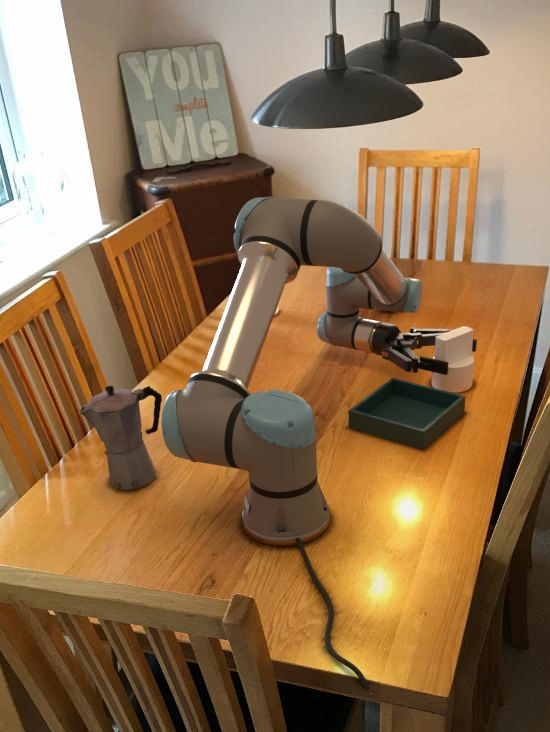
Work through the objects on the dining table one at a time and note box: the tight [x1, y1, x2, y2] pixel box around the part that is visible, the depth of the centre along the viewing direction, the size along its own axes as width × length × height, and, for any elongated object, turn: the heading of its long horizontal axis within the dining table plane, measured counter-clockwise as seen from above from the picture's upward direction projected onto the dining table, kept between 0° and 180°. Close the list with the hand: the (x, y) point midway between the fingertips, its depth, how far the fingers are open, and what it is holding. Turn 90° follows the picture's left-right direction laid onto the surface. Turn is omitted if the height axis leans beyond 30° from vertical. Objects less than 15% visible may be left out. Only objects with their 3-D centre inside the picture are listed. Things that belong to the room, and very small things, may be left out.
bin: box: [347, 377, 466, 451], centre depth 174 cm, size 18×18×4 cm
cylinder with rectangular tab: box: [431, 325, 475, 394], centre depth 184 cm, size 9×9×12 cm
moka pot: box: [78, 385, 163, 491], centre depth 157 cm, size 10×15×20 cm, turn 117°
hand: (462, 357), depth 183 cm, fingers open, 13 cm apart
